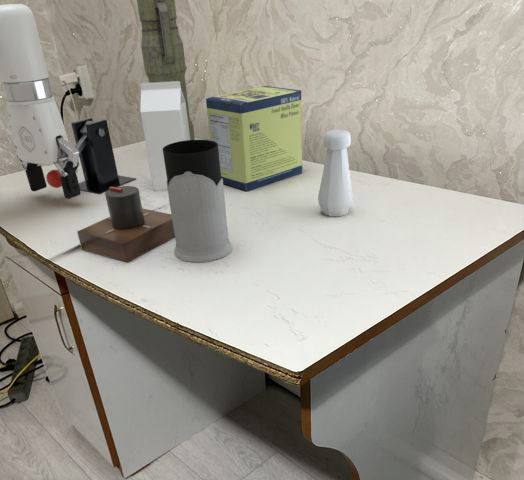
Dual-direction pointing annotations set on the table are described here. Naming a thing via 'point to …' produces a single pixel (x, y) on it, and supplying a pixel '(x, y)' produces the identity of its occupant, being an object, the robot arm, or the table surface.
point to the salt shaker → (336, 175)
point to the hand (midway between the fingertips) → (55, 192)
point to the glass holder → (197, 200)
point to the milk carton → (162, 124)
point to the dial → (124, 207)
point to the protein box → (257, 135)
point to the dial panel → (127, 236)
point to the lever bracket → (98, 158)
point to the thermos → (163, 46)
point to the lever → (54, 175)
